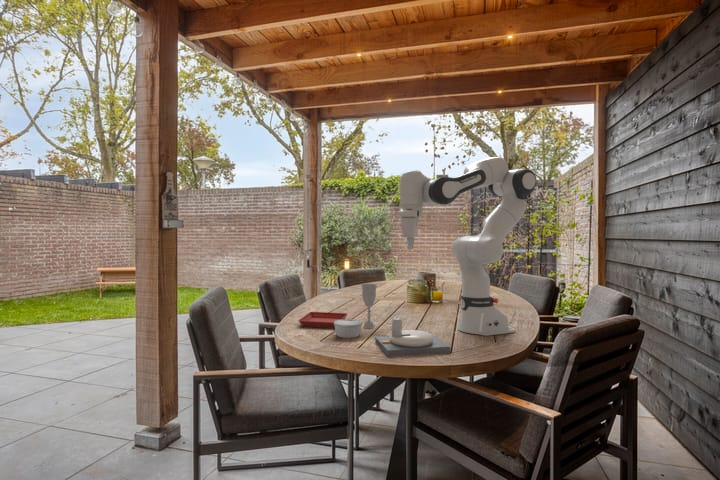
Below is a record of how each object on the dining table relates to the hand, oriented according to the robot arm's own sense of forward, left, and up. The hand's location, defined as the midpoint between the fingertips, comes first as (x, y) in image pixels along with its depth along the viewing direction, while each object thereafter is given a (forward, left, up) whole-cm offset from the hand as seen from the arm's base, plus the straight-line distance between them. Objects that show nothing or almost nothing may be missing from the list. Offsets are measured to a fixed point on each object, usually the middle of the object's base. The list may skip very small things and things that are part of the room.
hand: (410, 249), depth 158 cm
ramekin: (+23, -8, -34) cm, 42 cm away
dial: (+4, +13, -32) cm, 35 cm away
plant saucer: (+30, -30, -35) cm, 55 cm away
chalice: (+12, -19, -34) cm, 41 cm away
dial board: (+4, +13, -34) cm, 37 cm away
